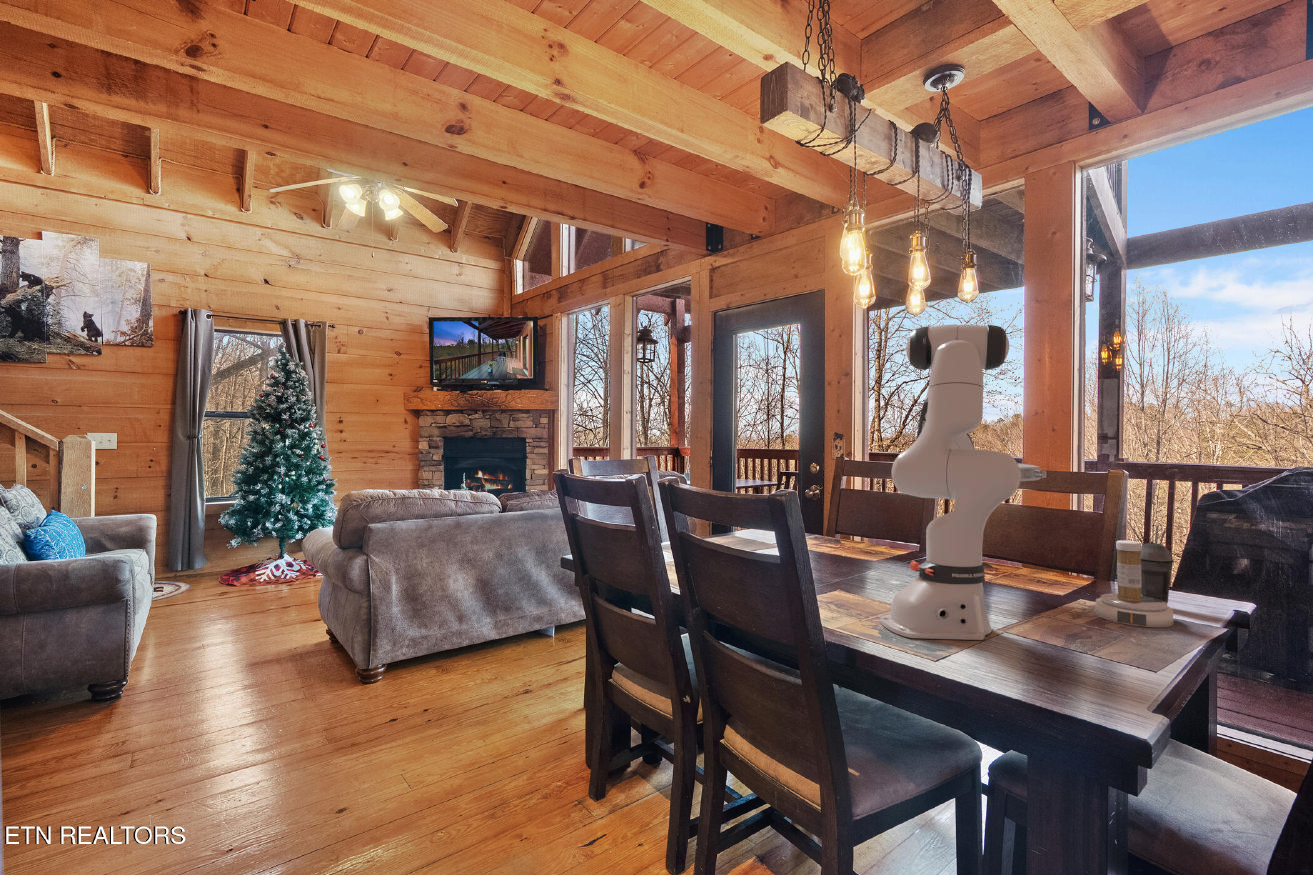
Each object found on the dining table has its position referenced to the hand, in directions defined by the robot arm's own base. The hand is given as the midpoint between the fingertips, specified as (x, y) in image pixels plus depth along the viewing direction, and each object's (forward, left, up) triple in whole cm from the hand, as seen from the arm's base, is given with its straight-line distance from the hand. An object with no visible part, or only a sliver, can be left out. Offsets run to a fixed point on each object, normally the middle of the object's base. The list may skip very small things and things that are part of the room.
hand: (1031, 475), depth 156 cm
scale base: (+12, -17, -32) cm, 38 cm away
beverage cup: (+25, -9, -32) cm, 42 cm away
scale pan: (+12, -17, -29) cm, 35 cm away
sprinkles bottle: (+11, -17, -28) cm, 35 cm away
